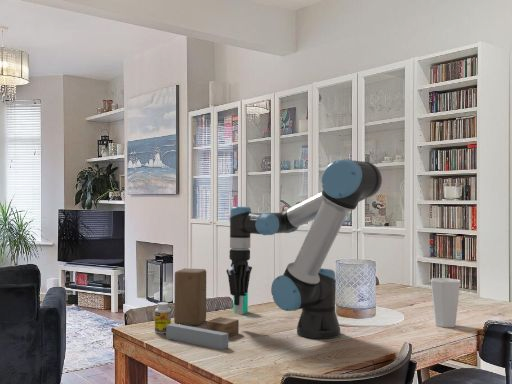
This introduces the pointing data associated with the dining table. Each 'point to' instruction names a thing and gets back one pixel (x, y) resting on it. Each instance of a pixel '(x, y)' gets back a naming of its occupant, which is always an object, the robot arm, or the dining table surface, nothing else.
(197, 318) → the wooden block
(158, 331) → the supplement bottle
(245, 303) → the candle
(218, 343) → the board
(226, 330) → the walnut block
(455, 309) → the cup
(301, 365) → the dining table surface
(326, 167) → the robot arm
